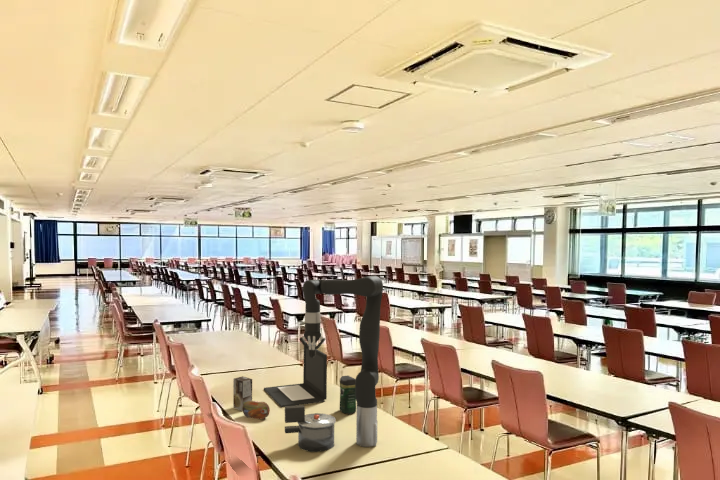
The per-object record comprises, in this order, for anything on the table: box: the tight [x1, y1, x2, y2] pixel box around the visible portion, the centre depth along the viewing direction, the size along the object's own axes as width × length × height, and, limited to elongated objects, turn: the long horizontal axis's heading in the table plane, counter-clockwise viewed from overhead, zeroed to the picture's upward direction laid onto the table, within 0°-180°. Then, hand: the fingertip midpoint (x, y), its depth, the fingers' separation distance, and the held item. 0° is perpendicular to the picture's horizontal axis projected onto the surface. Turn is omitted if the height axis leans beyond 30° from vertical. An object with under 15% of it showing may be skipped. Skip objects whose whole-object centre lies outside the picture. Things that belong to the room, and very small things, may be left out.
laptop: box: [263, 346, 328, 408], centre depth 306 cm, size 37×27×27 cm
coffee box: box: [232, 375, 253, 412], centre depth 281 cm, size 9×6×16 cm
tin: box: [242, 400, 271, 420], centre depth 267 cm, size 15×3×8 cm, turn 69°
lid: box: [284, 404, 337, 428], centre depth 232 cm, size 22×17×7 cm
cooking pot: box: [284, 424, 335, 453], centre depth 232 cm, size 22×16×10 cm
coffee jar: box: [339, 375, 357, 415], centre depth 278 cm, size 10×8×19 cm
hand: (312, 357), depth 250 cm, fingers closed
